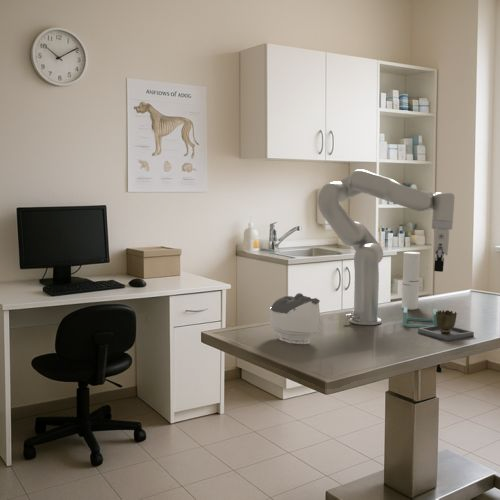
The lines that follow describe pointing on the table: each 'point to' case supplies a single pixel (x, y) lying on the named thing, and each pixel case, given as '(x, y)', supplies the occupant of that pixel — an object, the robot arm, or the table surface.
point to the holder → (418, 319)
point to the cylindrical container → (410, 280)
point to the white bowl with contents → (295, 318)
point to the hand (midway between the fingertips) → (438, 269)
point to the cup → (445, 320)
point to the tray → (453, 335)
